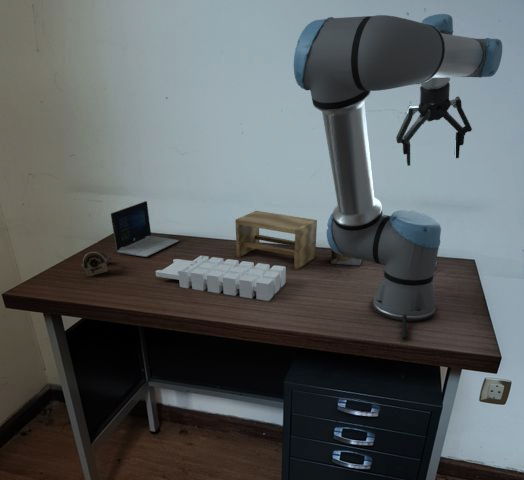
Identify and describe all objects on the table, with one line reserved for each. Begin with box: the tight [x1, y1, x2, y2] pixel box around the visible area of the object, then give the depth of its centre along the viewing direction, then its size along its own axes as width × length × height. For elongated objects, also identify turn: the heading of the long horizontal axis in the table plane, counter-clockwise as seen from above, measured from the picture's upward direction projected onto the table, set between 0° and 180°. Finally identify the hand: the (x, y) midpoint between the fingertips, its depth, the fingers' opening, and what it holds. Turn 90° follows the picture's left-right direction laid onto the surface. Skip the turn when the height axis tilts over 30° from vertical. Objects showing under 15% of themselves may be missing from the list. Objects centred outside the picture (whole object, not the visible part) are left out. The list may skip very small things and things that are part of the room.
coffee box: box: [330, 249, 362, 266], centre depth 151 cm, size 9×6×16 cm
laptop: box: [110, 200, 180, 258], centre depth 165 cm, size 18×12×13 cm
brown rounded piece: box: [80, 250, 113, 277], centre depth 149 cm, size 7×13×10 cm
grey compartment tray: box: [155, 255, 287, 302], centre depth 140 cm, size 13×5×35 cm
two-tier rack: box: [234, 210, 318, 270], centre depth 156 cm, size 12×22×12 cm, turn 58°
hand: (432, 159), depth 147 cm, fingers open, 13 cm apart
